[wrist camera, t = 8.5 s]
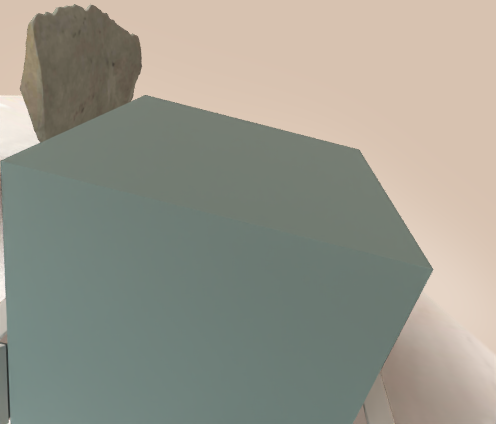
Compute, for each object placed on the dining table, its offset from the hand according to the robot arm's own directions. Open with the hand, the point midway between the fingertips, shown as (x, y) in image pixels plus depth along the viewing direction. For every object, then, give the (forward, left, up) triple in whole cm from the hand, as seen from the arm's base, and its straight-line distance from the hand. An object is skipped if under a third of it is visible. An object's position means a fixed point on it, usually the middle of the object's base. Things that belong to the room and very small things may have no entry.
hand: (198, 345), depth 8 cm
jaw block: (+1, 0, -5) cm, 6 cm away
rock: (-55, +4, -17) cm, 58 cm away
